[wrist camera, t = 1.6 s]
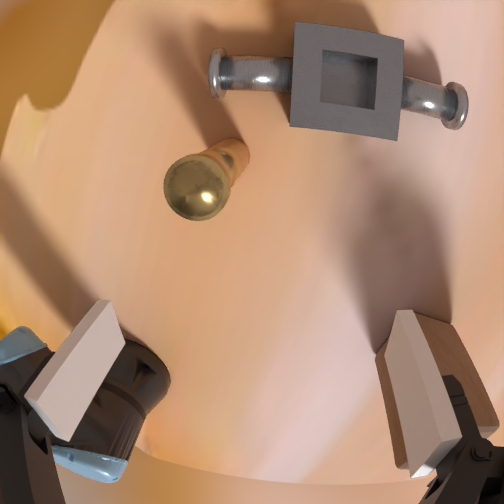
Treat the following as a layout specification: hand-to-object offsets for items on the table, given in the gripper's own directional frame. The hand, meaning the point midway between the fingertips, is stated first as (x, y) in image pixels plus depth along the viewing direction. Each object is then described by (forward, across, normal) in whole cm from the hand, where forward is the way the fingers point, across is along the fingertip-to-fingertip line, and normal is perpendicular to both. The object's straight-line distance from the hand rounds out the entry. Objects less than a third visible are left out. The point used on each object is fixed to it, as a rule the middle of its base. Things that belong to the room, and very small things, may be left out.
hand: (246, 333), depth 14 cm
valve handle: (+23, -5, +4) cm, 24 cm away
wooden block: (+24, +21, -22) cm, 39 cm away
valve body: (+24, +7, +12) cm, 27 cm away
